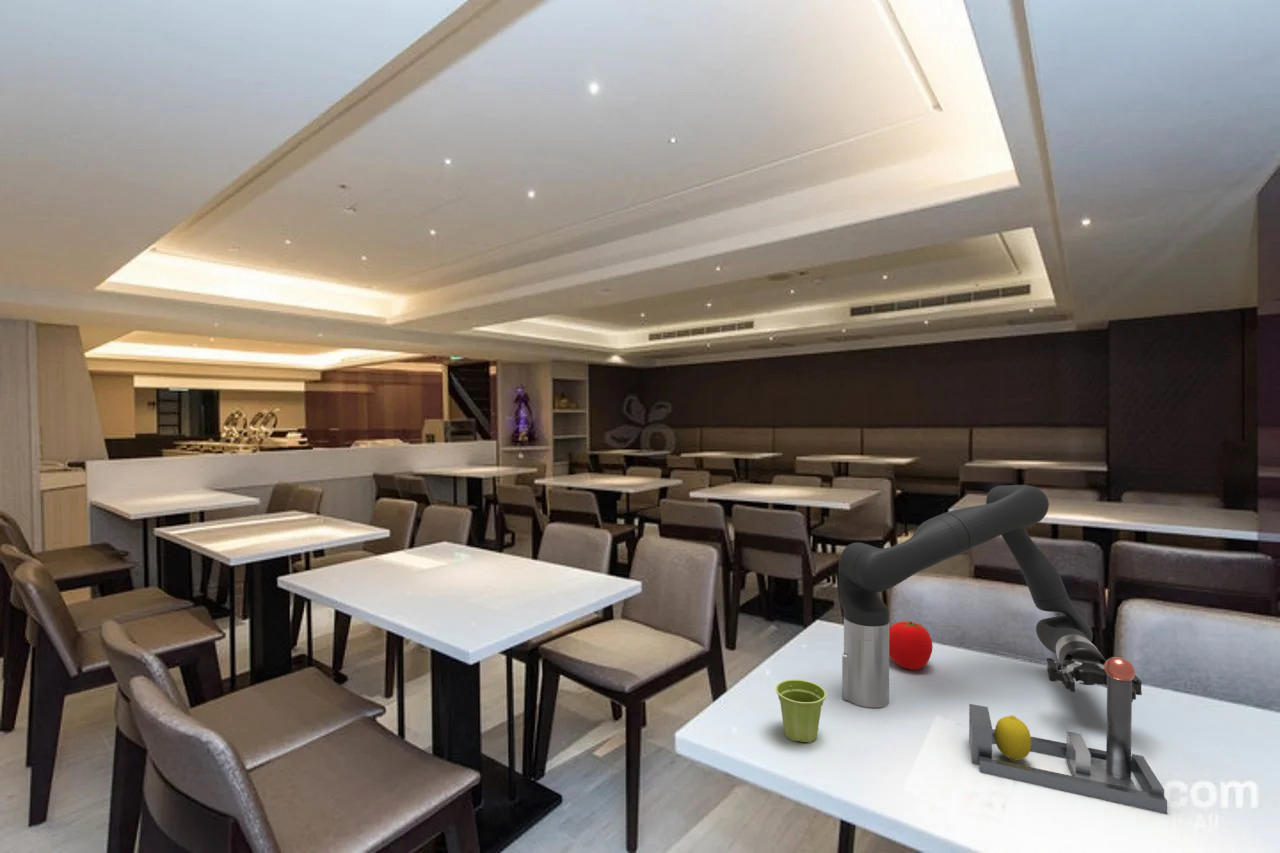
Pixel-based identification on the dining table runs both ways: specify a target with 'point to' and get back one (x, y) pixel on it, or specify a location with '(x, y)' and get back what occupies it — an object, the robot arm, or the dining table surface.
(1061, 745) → the frame
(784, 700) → the plant pot
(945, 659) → the dining table surface
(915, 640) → the tomato
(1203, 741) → the dining table surface
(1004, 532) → the robot arm
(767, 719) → the dining table surface
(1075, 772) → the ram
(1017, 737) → the lemon
